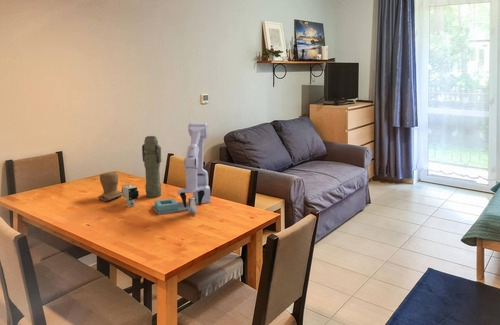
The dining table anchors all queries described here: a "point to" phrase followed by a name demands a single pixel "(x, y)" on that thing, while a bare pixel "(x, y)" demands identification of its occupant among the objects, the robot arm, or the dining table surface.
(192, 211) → the pin
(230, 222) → the dining table surface
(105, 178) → the brown upright piece
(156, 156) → the stone statue
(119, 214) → the dining table surface
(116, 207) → the dining table surface
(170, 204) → the block
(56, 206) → the dining table surface
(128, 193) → the pneumatic valve
